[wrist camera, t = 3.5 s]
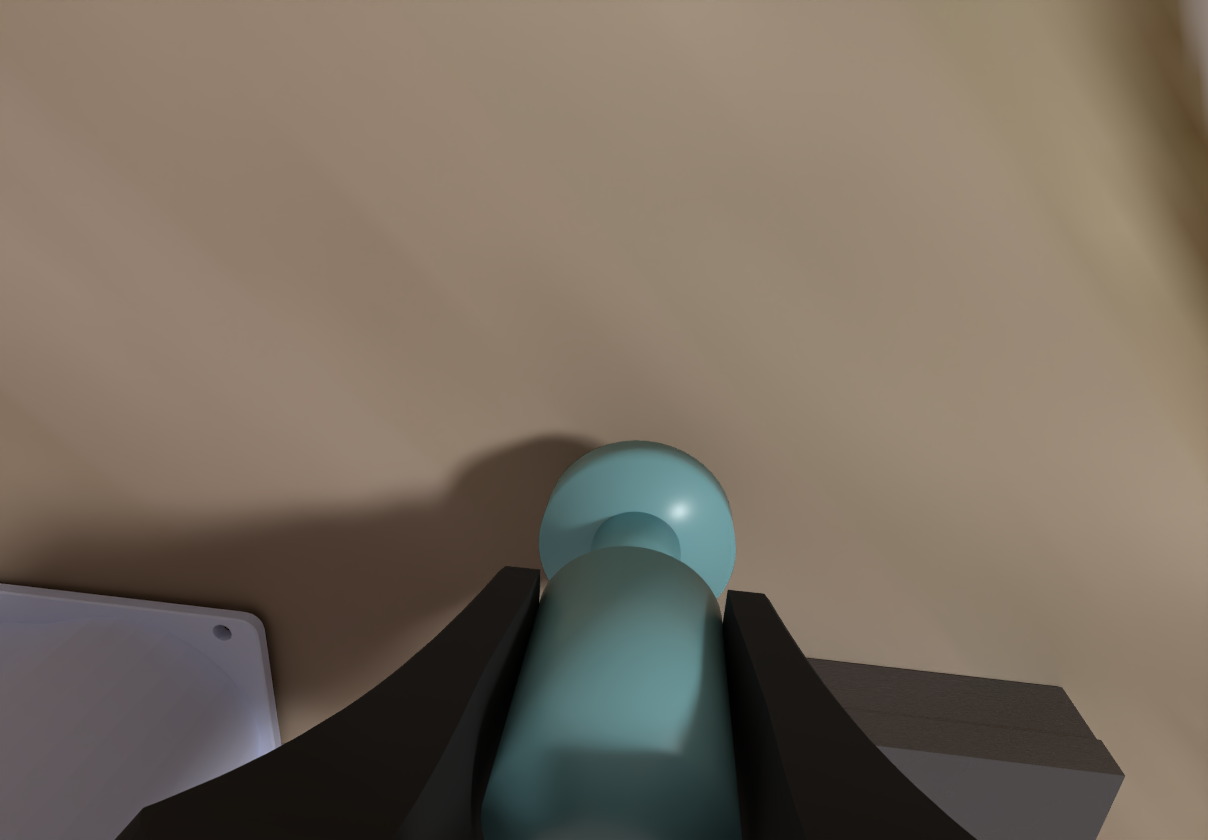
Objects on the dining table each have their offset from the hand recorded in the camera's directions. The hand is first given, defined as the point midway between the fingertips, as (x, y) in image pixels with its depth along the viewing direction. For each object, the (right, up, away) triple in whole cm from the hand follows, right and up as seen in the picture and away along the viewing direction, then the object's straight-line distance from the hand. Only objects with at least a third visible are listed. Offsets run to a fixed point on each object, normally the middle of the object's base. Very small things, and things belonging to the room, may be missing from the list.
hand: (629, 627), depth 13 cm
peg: (0, +1, +3) cm, 3 cm away
